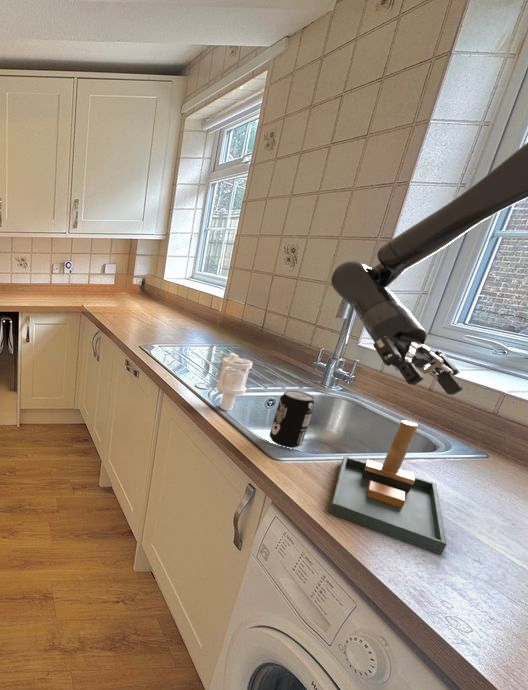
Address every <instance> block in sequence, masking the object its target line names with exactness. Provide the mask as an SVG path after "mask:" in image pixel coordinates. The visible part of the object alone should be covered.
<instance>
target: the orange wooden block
mask: <svg viewBox="0 0 528 690" xmlns="http://www.w3.org/2000/svg"><path fill="white" fill-rule="evenodd" d="M366 496H368V497H371V498H373V499H376V500H379V501H382V502H385V503H388V504H391V505H394V506H397V507H400V508H402V507H403V505H404V503H405V492H404V491H401V490H398V489H395V488H392V487H389V486H386V485H382V484H379V483H376V482H373V481H370V482H369V484H368V487H367V495H366Z"/></svg>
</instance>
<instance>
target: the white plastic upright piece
mask: <svg viewBox="0 0 528 690" xmlns="http://www.w3.org/2000/svg"><path fill="white" fill-rule="evenodd" d="M221 364H222V367H221V371H220V374H219V375H220V376H219V380H218V381H217V383H216V389H217V390H218V391H220V392H222V397H221V401H220V406H219V408H220V409H221V410H224V411H229V412H231V411H232V410H233V407H234V404H235V401H236V397H237V396H242V395H245V394H246V390H247V388H246V385H247V381H248V377H249V373H250V370H251V369H252V368H253V364H254V362H253V361H252V360H249V359H246V358H241V357H240V356H239V355H238V354H236V353H234V352H229V354H228V356H225V357H223V358H222V362H221ZM243 370H244V371H243Z"/></svg>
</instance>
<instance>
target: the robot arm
mask: <svg viewBox="0 0 528 690" xmlns="http://www.w3.org/2000/svg"><path fill="white" fill-rule="evenodd" d="M526 199H528V141H527V142H525V144H523V145H522V146H521V147H520V148H518V149H517V150H516V151H514V153H512V154H511V155H510V156H509V157H508V158H506V159H505V160H504V161H502V162H501V163H500V164H499V165H498V166H496V167H495V168H494V169H493V170H492V171H490V172H489V173H488V174H486V175H485V176H484V177H483V178H482V179H480V180H479V181H477V182H476V183H475V184H474V185H472V186H471V187H470V188H468V189H467V190H465V191H464V192H463V193H462V194H460V195H458V197H456V198H455V199H453V200H452V201H450V202H448V203H447V204H445V205H444V206H443V207H441V208H439V209H438V210H436V211H435V212H433V213H432V214H430V215H428V216H427V217H425V218H423V219H422V220H420V221H418V222H417V223H415V224H414V225H412V226H410V227H409V228H407V229H406V230H404V231H403V232H401V233H400V234H398V235H397V236H395V237H394V238H392V239H391V240H389V241H387V242H386V243H384V244H383V245H382V246H381V247H379V248H378V250H377V251H376V258H377V260H378V263H377V264H376V265H375V266H373V267H370V266H368V265H367V264H365V263H363V262H361V261H357V260H349V261H345V262H342V263H340V264H338V265H337V266H336V267H335V268H334V269H333V271H332V273H331V276H330V283H331V286H332V288H333V290H334V291H335V292H336V294H337V295H339V296H340V297H341V298H342V299H343V300H344V301H345V302H346V303H347V304H349V305H350V307H351V308H352V309H353V310H354V312H355V313H356V315H357V316H358V318H359V319H360V321H361V323H362V324H363V326H364V327H363V328H364V329H365V330H366V332H367V334H368V335H369V337H370V338H371V340H372V341H373V342H374V343H373V344H372V346H373V347H374V349H375V351H376V352H377V355H378V356H379V357H380V359H381V360H382V362H383V364H384V365H386V366H387V367H390V366H392V367H393V369H395V370H396V371H399V373H400V374H401V376H402V377H403V378H404V380H405V381H406V383H407V384H408V385H410V386H415V385H417V384H419V383H420V382H422V381H423V380H424V376H423V374H428V375H430V376H431V377H433V378H434V379H435V380H436V382H437V383H438V384H439V385H440V386H441V388H442V389H443V390H444V392H445V393H446V394H447V395H450V396H455V395H456V394H458V393H459V392H461V391H462V390H463V386H462V385H461V384H460V382H459V381H458V380H457V379H456V377H455V376H456V375H458V374H460V373H461V372H460V371H459V369H458V368H457V367H456V366H455V365H454V364H453V362H452V361H451V360H450V359H449V358H448V357H447V355H446V354H445V352H443V351H442V350H439V349H437V350H436V351H434V352H433V351H432V349H431V348H430V347H429V346H427V345H425V342H426V340H427V337H428V334H427V331H426V330H425V328H423V325H421V323H420V322H419V321H418V320H417V318H415V317H414V315H413V314H412V313H411V311H410V310H409V309H408V308H407V307H406V306H404V305H403V304H402V303H401V301H400V300H399V299H398V298H397V296H395V294H394V293H393V292H392V291H391V290H389V289H388V288H387V287H388V286H389V285H392V283H393V282H394V281H395V280H396V279H398V278H399V277H400V276H401V275H402V274H404V272H405V271H406V270H408V269H409V268H412V267H413V266H415V265H417V264H419V263H420V262H422V261H424V260H426V259H427V258H429V257H430V256H433V255H434V254H436V253H437V252H439V251H440V250H442V249H445V247H447V246H448V245H450V244H451V243H453V242H454V241H455V240H457V239H458V238H460V237H461V236H462V235H464V234H466V233H467V232H468V231H470V230H472V229H473V228H474V227H476V226H478V225H479V224H481V223H482V222H483V221H485V220H487V219H489V218H491V217H492V216H494V215H495V214H497V213H499V212H501V211H503V210H505V209H507V208H509V207H511V206H513V205H515V204H517V203H519V202H522V201H524V200H526ZM426 365H429V366H427V367H426ZM422 373H423V374H422Z"/></svg>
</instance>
